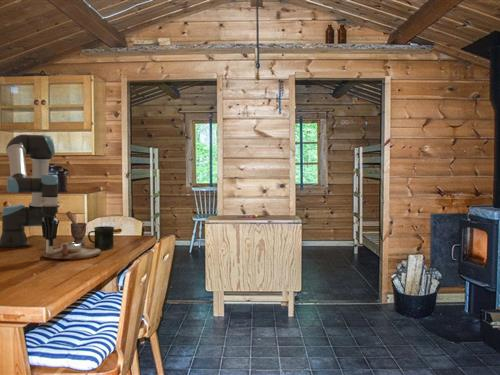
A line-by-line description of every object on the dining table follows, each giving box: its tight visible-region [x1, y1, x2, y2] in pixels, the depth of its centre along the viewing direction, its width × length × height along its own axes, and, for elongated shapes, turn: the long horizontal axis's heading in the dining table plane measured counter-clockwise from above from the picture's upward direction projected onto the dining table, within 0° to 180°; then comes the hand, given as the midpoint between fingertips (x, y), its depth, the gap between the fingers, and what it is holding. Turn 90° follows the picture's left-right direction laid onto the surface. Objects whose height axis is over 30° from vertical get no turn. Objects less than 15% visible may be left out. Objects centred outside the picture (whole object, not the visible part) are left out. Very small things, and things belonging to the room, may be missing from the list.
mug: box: [87, 225, 115, 250], centre depth 256 cm, size 11×15×12 cm
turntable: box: [42, 243, 102, 260], centre depth 233 cm, size 28×28×7 cm
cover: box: [60, 241, 82, 253], centre depth 233 cm, size 10×10×5 cm
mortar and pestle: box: [65, 211, 87, 247], centre depth 264 cm, size 12×9×20 cm
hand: (49, 252), depth 225 cm, fingers closed
